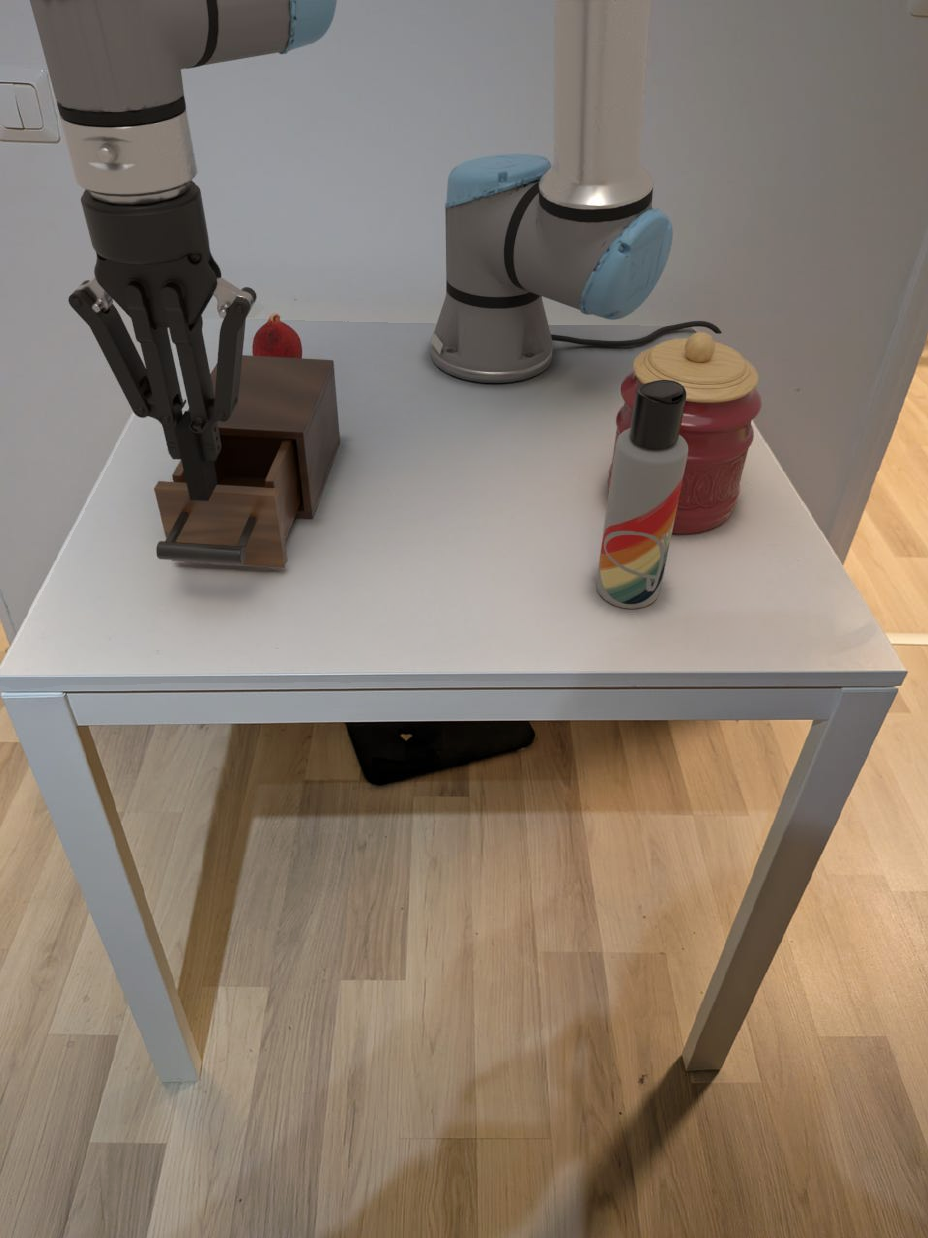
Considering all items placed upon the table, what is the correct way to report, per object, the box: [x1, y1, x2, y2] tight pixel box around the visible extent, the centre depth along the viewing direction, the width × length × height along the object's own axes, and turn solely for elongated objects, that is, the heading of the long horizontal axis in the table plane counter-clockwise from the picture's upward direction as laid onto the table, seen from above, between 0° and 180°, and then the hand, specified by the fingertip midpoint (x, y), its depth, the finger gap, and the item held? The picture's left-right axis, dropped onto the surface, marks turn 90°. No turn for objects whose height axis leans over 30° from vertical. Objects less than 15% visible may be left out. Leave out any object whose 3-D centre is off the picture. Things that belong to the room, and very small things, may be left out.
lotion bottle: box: [596, 380, 688, 610], centre depth 77 cm, size 6×6×20 cm
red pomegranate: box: [251, 312, 303, 358], centre depth 110 cm, size 6×6×8 cm
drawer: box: [153, 435, 303, 569], centre depth 84 cm, size 19×10×8 cm, turn 175°
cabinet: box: [187, 354, 341, 520], centre depth 93 cm, size 15×12×10 cm
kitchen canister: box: [607, 331, 763, 534], centre depth 88 cm, size 13×13×18 cm
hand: (204, 490), depth 76 cm, fingers closed
